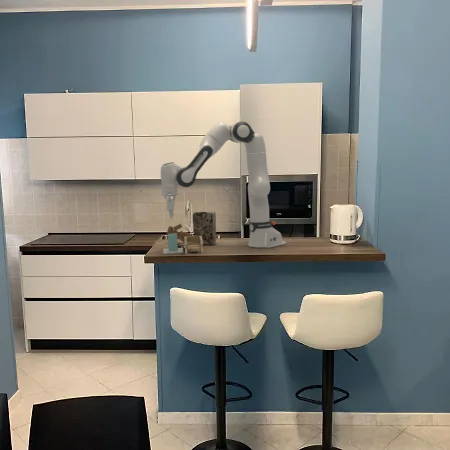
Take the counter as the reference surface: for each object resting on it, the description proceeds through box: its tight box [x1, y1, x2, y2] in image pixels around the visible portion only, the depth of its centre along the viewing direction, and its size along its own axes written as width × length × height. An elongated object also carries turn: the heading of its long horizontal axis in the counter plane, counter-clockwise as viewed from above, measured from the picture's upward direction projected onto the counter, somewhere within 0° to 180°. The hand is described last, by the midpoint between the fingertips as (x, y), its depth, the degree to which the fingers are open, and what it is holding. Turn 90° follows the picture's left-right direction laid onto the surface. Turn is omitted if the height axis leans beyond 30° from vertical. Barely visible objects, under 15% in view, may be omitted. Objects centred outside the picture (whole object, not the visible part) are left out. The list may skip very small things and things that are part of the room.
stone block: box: [192, 210, 217, 246], centre depth 286 cm, size 13×7×20 cm, turn 77°
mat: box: [162, 247, 184, 255], centre depth 269 cm, size 11×11×1 cm
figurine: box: [166, 223, 193, 243], centre depth 294 cm, size 13×2×15 cm
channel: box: [183, 235, 204, 255], centre depth 268 cm, size 18×10×7 cm, turn 5°
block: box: [167, 233, 179, 251], centre depth 269 cm, size 5×5×9 cm
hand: (171, 216), depth 266 cm, fingers open, 8 cm apart
